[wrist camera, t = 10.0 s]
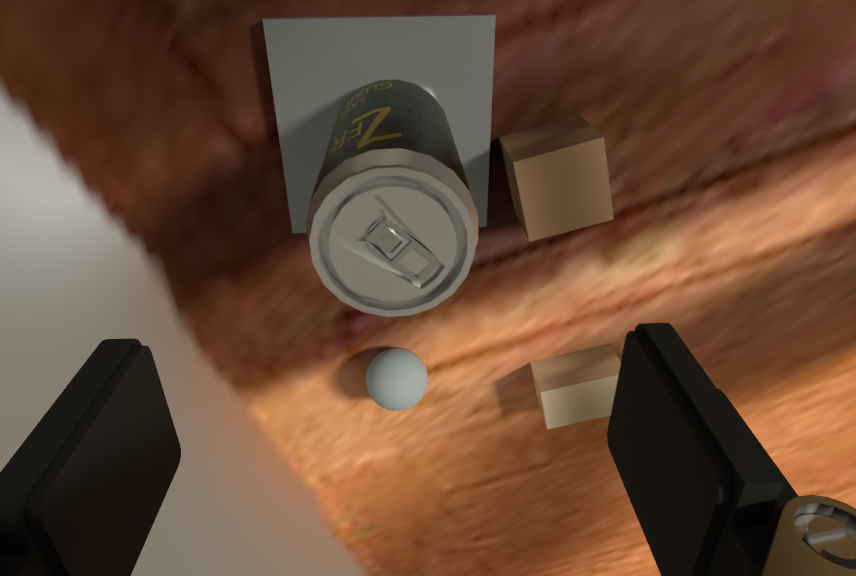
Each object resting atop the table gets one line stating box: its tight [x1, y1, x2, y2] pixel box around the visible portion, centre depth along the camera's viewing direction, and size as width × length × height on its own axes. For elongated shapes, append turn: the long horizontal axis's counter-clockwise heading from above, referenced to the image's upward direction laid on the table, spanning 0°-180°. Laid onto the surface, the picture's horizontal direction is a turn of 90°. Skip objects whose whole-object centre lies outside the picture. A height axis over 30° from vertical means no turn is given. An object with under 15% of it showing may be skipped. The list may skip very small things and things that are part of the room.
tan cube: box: [499, 115, 614, 242], centre depth 28 cm, size 4×4×4 cm
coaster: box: [262, 14, 496, 233], centre depth 28 cm, size 10×10×1 cm
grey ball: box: [366, 348, 428, 411], centre depth 34 cm, size 4×4×4 cm
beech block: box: [530, 344, 621, 429], centre depth 35 cm, size 5×3×3 cm, turn 104°
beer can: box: [306, 79, 478, 317], centre depth 22 cm, size 5×5×12 cm
